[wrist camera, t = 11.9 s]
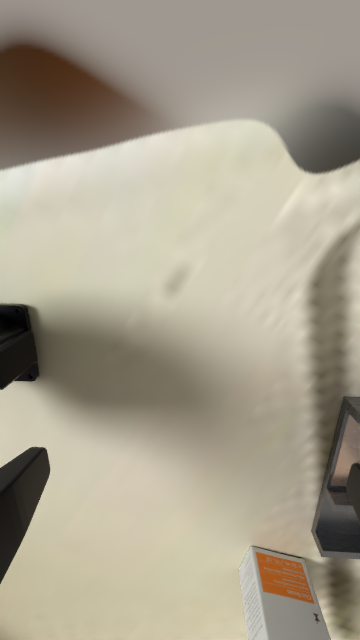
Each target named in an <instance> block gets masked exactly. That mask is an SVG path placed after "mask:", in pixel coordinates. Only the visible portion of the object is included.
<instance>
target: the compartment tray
mask: <svg viewBox="0 0 360 640" xmlns="http://www.w3.org/2000/svg"><path fill="white" fill-rule="evenodd" d="M353 463H360V397H344V399H343V403H342V407H341V411H340V415H339V419H338V424H337V428H336V432H335V436H334V440H333V444H332V448H331V452H330V456H329V461H328V465H327V469H326V473H325V477H324V481H323V485H322V489H321V493H320V497H319V502H318V506H317V510H316V514H315V518H314V522H313V526H312V530H311V532H312V534H313V537H314V539H315V542H316V544H317V547H318V549H319V552H320V554H321V557H334V558H350V559H360V523H359V521H358V518H357V516H356V513H355V511H354V508H353V506H352V503H351V501H350V498H349V496H348V493H347V490H346V482H347V479H348V475H349V472H350V468H351V465H352V464H353Z"/></svg>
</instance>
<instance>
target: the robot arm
mask: <svg viewBox="0 0 360 640" xmlns="http://www.w3.org/2000/svg"><path fill="white" fill-rule="evenodd" d="M18 309H20V310H21V312H22V313H20V312H19V311H18ZM31 374H32V375H33V376H32V375H31ZM38 377H39V371H38V365H37V354H36V349H35V343H34V337H33V333H32V331H31V325H30V320H29V314H28V310H27V308H26V306H24V305H22V304H0V390H3V389H4V388H6V387H7V386H8V385H9V384H10V383H12V382H13V381H35V380H36V379H37V378H38ZM49 474H50V464H49V459H48V453H47V450H46V448H44V447H31V448H29V449H28V450H26V451H25V452H23V453H22V454H20V455H19V456H17V457H16V458H14V459H13V460H11V461H10V462H8V463H7V464H6V465H4V466H3V467H1V468H0V584H1V582H2V580H3V578H4V576H5V574H6V572H7V570H8V568H9V566H10V564H11V562H12V560H13V558H14V556H15V554H16V552H17V550H18V548H19V546H20V544H21V542H22V540H23V538H24V536H25V534H26V532H27V529H28V527H29V525H30V522H31V520H32V517H33V515H34V512H35V510H36V507H37V505H38V502H39V500H40V497H41V495H42V493H43V490H44V488H45V485H46V483H47V480H48V478H49ZM346 490H347V493H348V496H349V498H350V501H351V503H352V506H353V508H354V511H355V513H356V516H357V518H358V521H359V523H360V463H353V464H352V465H351V468H350V472H349V475H348V479H347V482H346Z"/></svg>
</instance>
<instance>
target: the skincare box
mask: <svg viewBox="0 0 360 640" xmlns="http://www.w3.org/2000/svg"><path fill="white" fill-rule="evenodd" d="M239 576H240V584H241V591H242V599H243V607H244V614H245V622H246V629H247V637H248V640H331V638H330V636H329V633H328V630H327V627H326V624H325V621H324V618H323V615H322V612H321V609H320V606H319V603H318V600H317V597H316V594H315V591H314V588H313V585H312V582H311V579H310V576H309V573H308V570H307V567H306V564H305V561H304V559H302V558H296V557H292V556H288V555H284V554H279V553H275V552H272V551H268V550H264V549H260V548H257V547H254V546H251V547H250V549H249V551H248V553H247V555H246V557H245V559H244V561H243V562H242V564H241V566H240V568H239Z"/></svg>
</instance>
